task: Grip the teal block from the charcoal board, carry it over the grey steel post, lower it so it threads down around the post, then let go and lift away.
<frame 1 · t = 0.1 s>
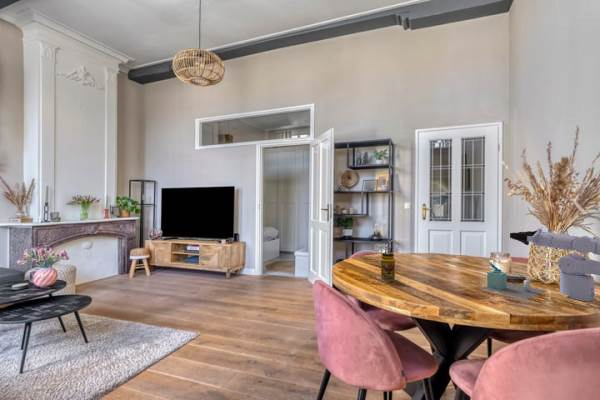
hand: (514, 234, 131), 22 cm above the table, tool horizontal, fingers open, 7 cm apart
teal block: (496, 287, 124), point 1 cm above the table, touching post board
condiment: (386, 279, 142), on the table
teal bent piece: (498, 279, 141), on the table
post board: (513, 292, 121), on the table
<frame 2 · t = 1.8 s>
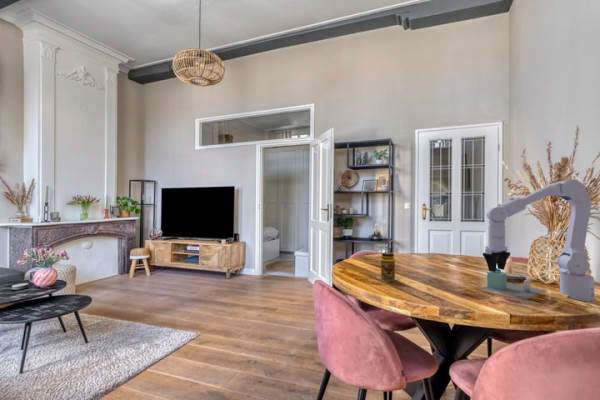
hand: (496, 270, 124), 8 cm above the table, tool pointing down, fingers open, 7 cm apart
nothing on the table moved.
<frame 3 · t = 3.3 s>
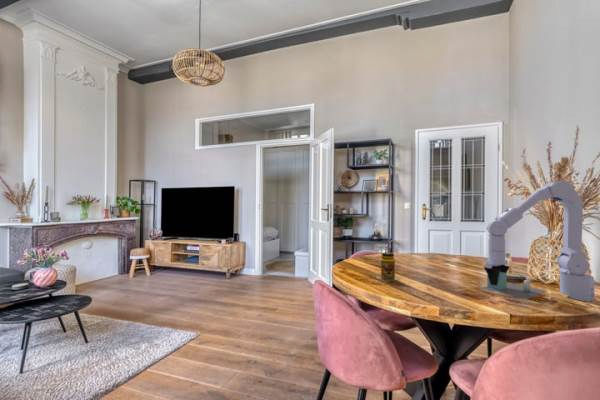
hand: (496, 283, 124), 2 cm above the table, tool pointing down, fingers closed on teal block, 5 cm apart
teal block: (496, 287, 124), point 1 cm above the table, touching gripper, post board
everything else where it was.
when the fingers open (4 cm above the table, at t = 8.1 s): teal block drops 2 cm, resting on post board.
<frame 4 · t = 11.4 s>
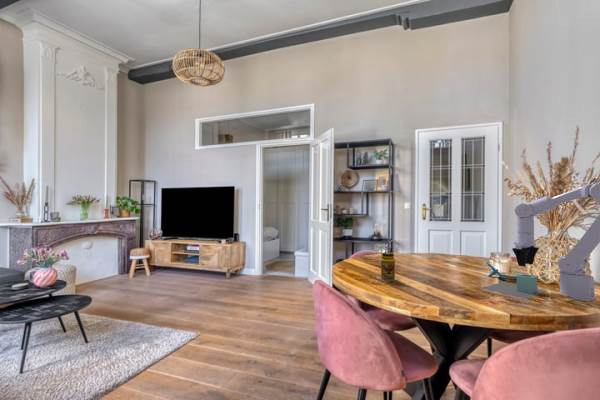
hand: (525, 265, 127), 9 cm above the table, tool pointing down, fingers open, 7 cm apart
teal block: (526, 291, 118), point 1 cm above the table, touching post board
at the end: teal block 0.0 cm from the target spot on the post board, point 1.0 cm above the post board's base; teal block tilted 0°; the gripper is holding nothing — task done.
